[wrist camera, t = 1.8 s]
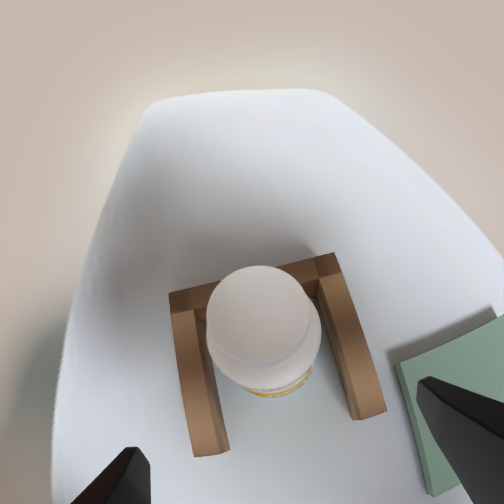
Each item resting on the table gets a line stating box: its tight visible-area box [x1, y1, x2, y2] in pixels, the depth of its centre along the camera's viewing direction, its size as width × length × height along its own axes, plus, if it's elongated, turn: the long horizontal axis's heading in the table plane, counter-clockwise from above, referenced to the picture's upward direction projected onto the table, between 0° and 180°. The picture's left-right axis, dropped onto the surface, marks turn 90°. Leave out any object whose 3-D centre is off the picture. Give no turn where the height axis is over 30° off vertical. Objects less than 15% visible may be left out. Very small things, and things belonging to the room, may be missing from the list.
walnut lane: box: [169, 252, 387, 457], centre depth 19 cm, size 10×11×3 cm
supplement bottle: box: [206, 265, 321, 398], centre depth 16 cm, size 5×5×10 cm
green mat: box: [395, 314, 504, 497], centre depth 16 cm, size 10×10×1 cm
